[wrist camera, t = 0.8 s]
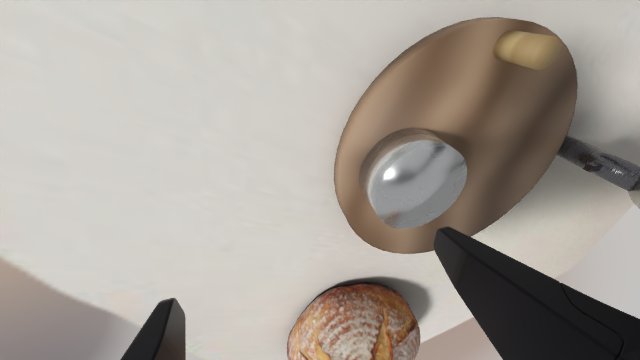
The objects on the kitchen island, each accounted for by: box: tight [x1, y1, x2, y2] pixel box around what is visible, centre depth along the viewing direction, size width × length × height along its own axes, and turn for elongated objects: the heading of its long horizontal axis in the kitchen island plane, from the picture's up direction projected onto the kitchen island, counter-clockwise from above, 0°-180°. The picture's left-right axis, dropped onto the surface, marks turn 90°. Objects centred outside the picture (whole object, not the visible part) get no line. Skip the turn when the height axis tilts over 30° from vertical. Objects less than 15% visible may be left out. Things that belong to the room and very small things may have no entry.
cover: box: [359, 127, 467, 229], centre depth 21 cm, size 7×7×3 cm
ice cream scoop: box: [556, 135, 640, 208], centre depth 24 cm, size 3×4×10 cm
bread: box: [287, 283, 420, 360], centre depth 34 cm, size 16×20×10 cm
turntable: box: [334, 17, 577, 254], centre depth 23 cm, size 21×21×4 cm
